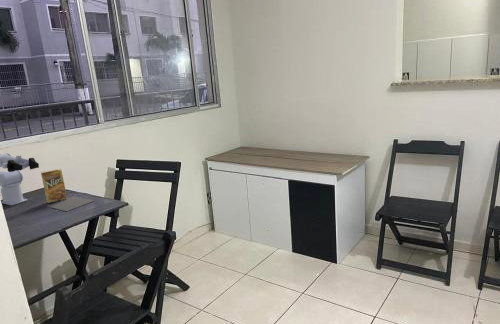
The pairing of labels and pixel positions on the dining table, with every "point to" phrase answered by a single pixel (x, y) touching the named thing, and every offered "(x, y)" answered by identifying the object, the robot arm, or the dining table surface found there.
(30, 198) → the dining table surface
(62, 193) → the candy box
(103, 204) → the dining table surface
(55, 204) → the mat
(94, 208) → the dining table surface
